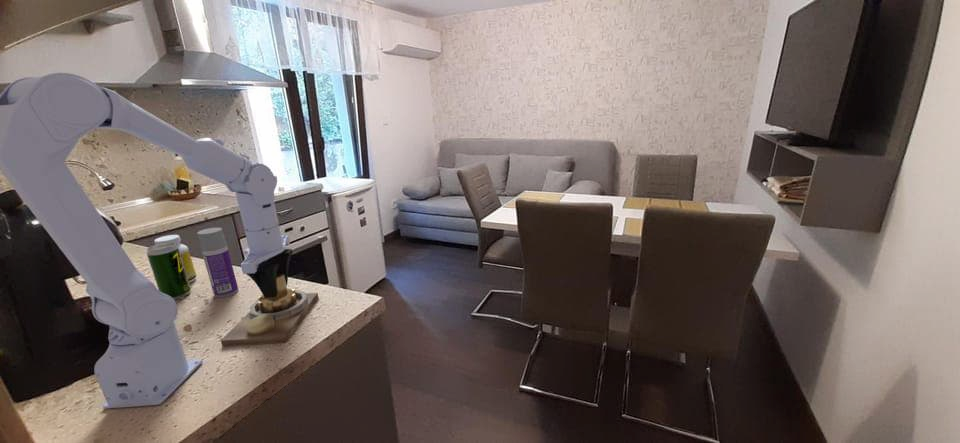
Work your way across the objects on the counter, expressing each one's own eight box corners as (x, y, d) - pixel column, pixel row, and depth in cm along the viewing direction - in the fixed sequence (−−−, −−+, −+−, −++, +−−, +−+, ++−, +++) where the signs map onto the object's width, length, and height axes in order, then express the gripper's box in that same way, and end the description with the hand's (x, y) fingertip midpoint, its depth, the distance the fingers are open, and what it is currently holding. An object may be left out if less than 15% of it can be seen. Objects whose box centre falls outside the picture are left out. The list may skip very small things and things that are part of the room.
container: (243, 287, 87) (227, 227, 82) (228, 297, 82) (211, 234, 78) (224, 287, 87) (208, 227, 82) (209, 297, 83) (190, 234, 78)
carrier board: (285, 342, 66) (282, 329, 65) (222, 346, 65) (218, 333, 64) (318, 297, 81) (316, 286, 80) (267, 300, 80) (264, 289, 79)
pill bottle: (201, 280, 91) (188, 236, 88) (170, 291, 86) (155, 244, 83) (190, 274, 95) (178, 231, 91) (159, 284, 90) (144, 239, 86)
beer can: (160, 304, 81) (143, 253, 77) (162, 294, 85) (146, 245, 81) (191, 296, 84) (176, 246, 80) (191, 287, 88) (177, 240, 84)
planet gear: (288, 312, 72) (283, 284, 70) (252, 314, 71) (245, 286, 69) (302, 295, 78) (297, 269, 76) (269, 296, 78) (263, 270, 76)
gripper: (259, 216, 76) (273, 276, 81) (216, 241, 63) (235, 311, 67) (294, 214, 77) (306, 274, 81) (258, 238, 63) (274, 309, 67)
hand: (276, 291), depth 74 cm, fingers closed on planet gear, 4 cm apart
